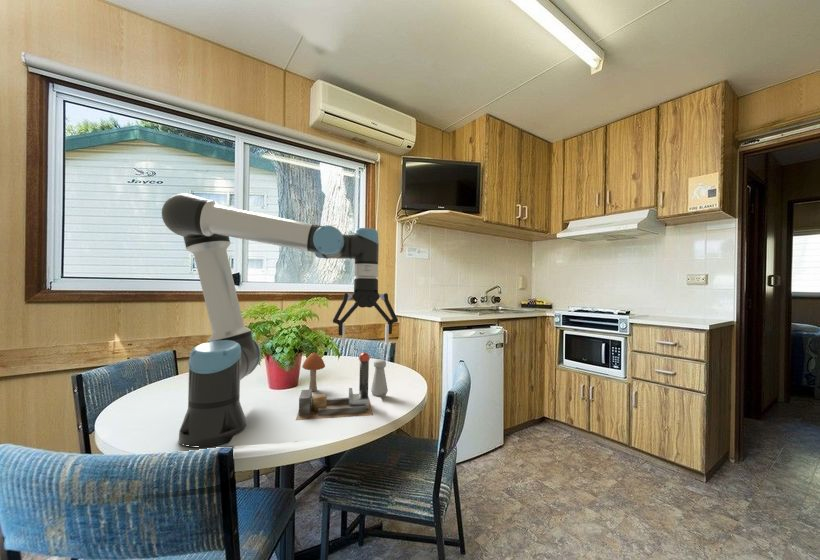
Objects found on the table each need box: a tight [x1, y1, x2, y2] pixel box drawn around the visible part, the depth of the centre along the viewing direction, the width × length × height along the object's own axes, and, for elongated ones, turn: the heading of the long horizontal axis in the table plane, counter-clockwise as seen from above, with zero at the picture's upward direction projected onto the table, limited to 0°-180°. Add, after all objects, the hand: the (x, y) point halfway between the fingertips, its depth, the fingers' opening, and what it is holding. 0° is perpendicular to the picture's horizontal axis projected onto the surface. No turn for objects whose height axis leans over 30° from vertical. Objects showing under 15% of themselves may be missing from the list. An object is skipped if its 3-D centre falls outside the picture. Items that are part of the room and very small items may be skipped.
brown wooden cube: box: [312, 393, 328, 412], centre depth 103 cm, size 4×4×4 cm
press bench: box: [295, 389, 375, 421], centre depth 104 cm, size 22×14×6 cm, turn 102°
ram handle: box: [348, 351, 371, 409], centre depth 106 cm, size 6×6×17 cm
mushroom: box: [301, 351, 326, 393], centre depth 121 cm, size 8×8×15 cm
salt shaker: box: [370, 359, 389, 399], centre depth 119 cm, size 6×6×13 cm
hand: (365, 345), depth 106 cm, fingers open, 13 cm apart
